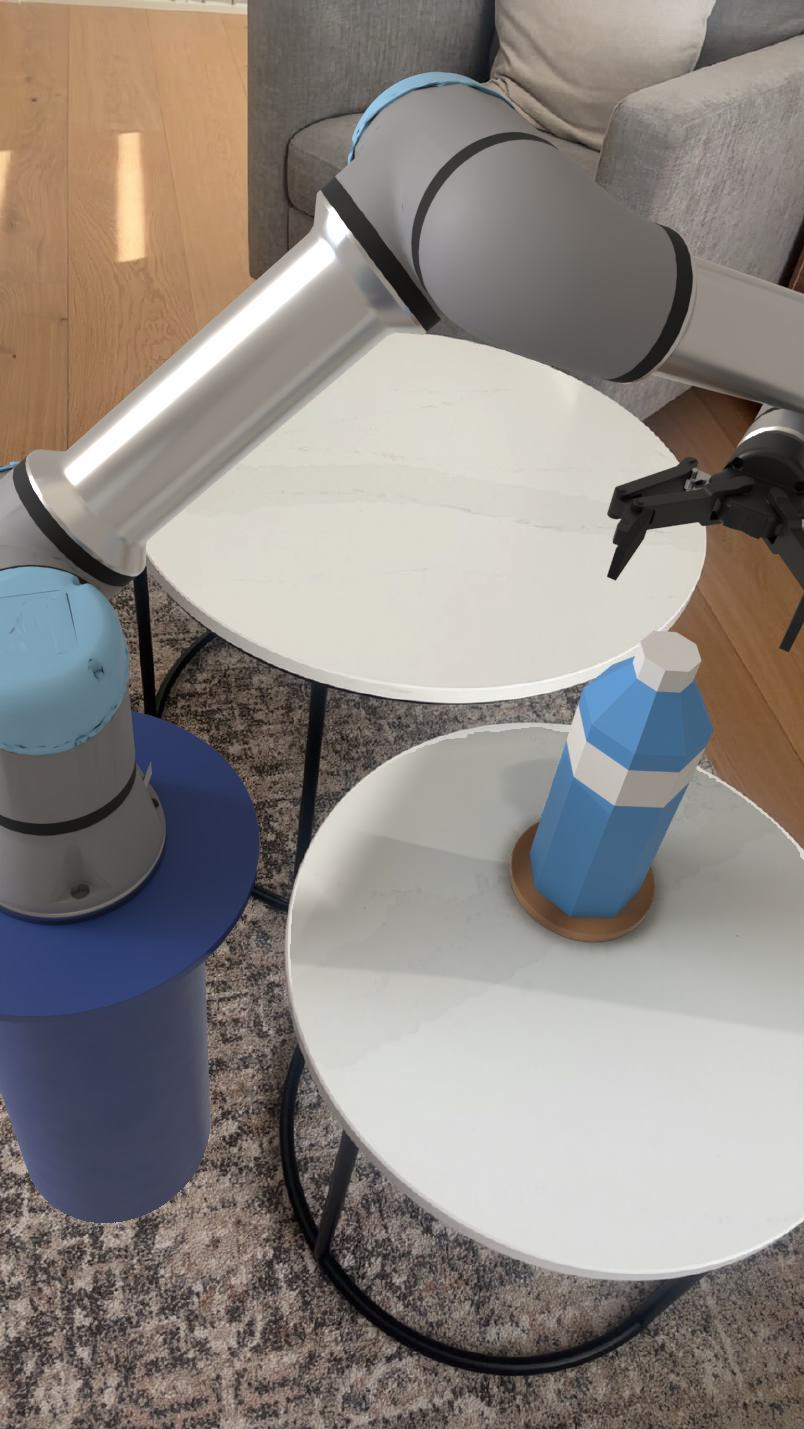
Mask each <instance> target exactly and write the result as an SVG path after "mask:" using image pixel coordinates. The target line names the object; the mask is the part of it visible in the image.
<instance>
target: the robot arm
mask: <svg viewBox="0 0 804 1429" xmlns="http://www.w3.org/2000/svg"><path fill="white" fill-rule="evenodd" d="M351 141H352V143H351V145H350V148H349V153H348V156H347V165H346V166H345V167H344V168H342V169H341V170H340V172H339V171H338V173H337V174H336V175H335V176H334V177H333V178H332V179H331V180H330V181H328V182H327V183H326V184H325V185H324V186H323V187H321V189H320V190H319V191H318V192H316V197H315V206H314V207H315V208H314V209H315V210H314V219H313V226H312V227H311V229H310V231H309V232H308V233H307V234H306V235H305V236H304V237H303V238H302V239H300V240H299V241H298V242H297V243H296V244H295V245H294V246H292V248H290V249H289V250H288V251H287V252H286V253H284V255H283V256H282V257H281V258H279V260H277V261H276V262H275V263H274V264H273V265H272V266H270V267H269V268H268V269H267V270H266V271H264V273H263V274H262V275H261V276H259V277H258V278H257V279H256V280H255V281H253V283H251V284H250V285H249V286H248V287H247V288H246V289H245V290H244V291H243V292H242V293H240V294H239V295H238V296H237V297H236V298H235V299H234V300H233V301H231V302H230V303H229V304H228V305H227V306H226V307H224V308H223V309H222V311H220V312H219V313H218V314H217V315H215V317H213V319H211V320H210V321H209V322H208V323H207V324H206V325H204V327H203V328H201V329H200V330H199V331H198V332H197V333H195V335H194V336H192V338H190V339H189V340H188V341H187V342H186V343H184V344H183V346H181V347H180V348H179V349H178V350H177V351H176V352H174V353H173V354H172V356H170V357H169V358H168V359H167V360H166V361H165V362H163V363H162V364H161V365H160V366H159V367H158V368H157V369H155V370H154V372H152V374H150V375H149V376H148V377H147V378H145V380H144V381H142V382H141V383H140V384H139V385H138V386H137V387H136V388H134V389H133V390H132V391H131V392H130V393H129V394H128V395H127V396H126V397H124V398H123V399H122V400H121V401H120V402H119V403H118V404H117V405H116V406H114V407H113V408H112V409H111V410H110V411H109V412H107V414H105V415H104V416H103V417H102V418H101V419H100V420H99V421H98V422H97V423H95V424H94V425H93V426H92V427H91V428H90V429H88V431H86V432H85V433H84V434H83V435H82V436H81V437H80V438H79V439H78V440H76V441H75V442H74V443H73V444H72V445H71V446H70V447H69V448H68V449H67V450H65V451H64V450H63V451H61V450H52V449H44V448H43V449H41V448H39V449H34V450H33V451H31V452H29V454H28V455H26V456H25V457H24V458H23V459H22V460H20V461H10V462H9V464H5V465H0V912H2V913H4V914H6V915H8V916H10V917H13V918H15V919H18V920H22V921H25V922H30V923H35V924H44V925H63V924H72V923H78V922H83V921H87V920H91V919H94V918H97V917H100V916H102V915H105V914H107V913H109V912H111V911H114V910H116V909H117V908H119V907H121V906H123V905H124V904H126V903H127V902H128V901H130V900H131V899H133V898H134V897H135V896H136V895H137V894H139V893H140V892H141V891H142V890H143V889H144V888H145V887H146V885H147V884H148V883H149V882H150V881H151V879H152V878H153V876H154V875H155V873H156V872H157V870H158V868H159V866H160V864H161V861H162V859H163V856H164V852H165V847H166V824H165V816H164V812H163V809H162V806H161V803H160V801H159V798H158V796H157V794H156V792H155V791H154V789H153V788H152V786H151V785H150V784H149V780H150V778H151V775H152V769H151V762H150V765H149V768H148V770H147V773H146V776H145V775H144V774H143V772H142V771H141V769H140V768H139V766H138V765H137V763H136V758H135V746H134V736H133V726H132V716H131V711H132V708H131V696H130V686H129V678H130V669H129V668H130V652H129V645H128V642H127V639H126V635H125V632H124V629H123V627H122V625H121V621H120V619H119V616H118V614H117V612H116V611H115V610H116V609H115V608H114V607H113V605H112V604H111V603H110V600H111V599H112V598H113V597H114V596H115V595H117V594H118V593H119V592H120V591H122V590H123V589H124V588H125V587H126V586H127V585H129V583H131V582H132V581H133V580H135V578H137V577H138V576H139V575H140V574H142V573H143V571H144V570H145V568H146V565H147V542H149V540H150V539H151V538H152V537H153V536H154V535H156V534H157V533H158V532H159V531H161V529H163V528H164V527H165V526H166V525H167V524H168V523H170V522H171V521H172V520H174V519H175V518H176V517H177V516H178V515H179V514H181V513H182V512H183V511H184V510H185V509H186V508H187V507H189V506H190V505H191V504H192V503H193V502H194V501H196V500H197V499H198V498H199V497H201V495H202V494H203V495H204V493H205V492H206V491H207V490H209V488H211V487H212V486H213V485H215V484H216V483H217V482H218V481H219V480H220V479H221V478H223V477H224V476H225V475H226V474H228V473H229V472H230V471H231V470H232V469H233V468H235V467H236V466H237V465H238V464H240V463H241V461H243V460H244V459H245V458H246V457H247V456H248V455H250V454H251V453H252V452H253V451H255V450H256V449H257V448H258V447H259V446H260V445H261V444H263V443H264V442H265V441H266V440H267V439H268V438H270V437H271V436H272V435H273V434H275V433H276V432H277V431H278V430H279V429H280V428H281V427H283V426H284V425H285V424H286V423H288V422H289V421H290V420H291V419H292V418H293V417H295V415H297V414H298V413H299V412H300V411H301V410H302V409H304V408H305V407H306V406H307V405H308V404H310V403H311V402H312V401H313V400H314V399H315V398H317V397H318V396H319V395H320V394H321V393H322V392H324V391H325V390H326V389H327V388H328V387H330V386H331V385H332V384H333V383H334V382H335V381H336V380H338V379H339V378H340V377H342V376H343V375H344V374H345V373H346V372H347V371H348V370H350V369H351V368H352V367H353V366H354V365H355V364H357V363H358V362H359V361H360V360H361V359H362V358H364V357H365V356H366V355H367V354H368V353H370V352H371V351H372V350H373V349H374V348H375V347H376V346H378V345H379V344H380V343H381V342H382V341H384V340H385V339H386V338H387V337H389V336H390V335H393V334H395V333H397V334H409V335H417V336H419V335H420V336H424V335H425V334H426V333H428V332H429V331H430V330H431V329H433V328H434V327H435V326H436V325H437V324H438V323H439V322H441V321H442V320H443V319H444V318H448V319H449V320H450V321H451V322H453V323H454V324H456V325H457V326H458V327H460V328H461V329H462V330H464V331H465V332H467V333H468V334H470V335H471V336H473V337H475V338H477V339H479V340H482V341H483V342H485V343H488V344H490V345H492V346H495V347H497V348H499V349H501V350H504V351H506V352H508V353H512V354H514V355H516V356H520V357H523V358H526V359H529V360H532V361H535V362H538V363H542V364H545V365H549V366H552V367H556V368H559V369H562V370H566V371H569V372H573V373H577V374H579V375H583V376H587V377H592V378H595V379H601V380H604V381H608V382H610V383H611V382H612V383H615V384H622V385H631V384H635V383H639V382H640V381H642V380H645V379H646V378H648V377H650V376H656V377H659V378H662V379H666V380H670V381H674V382H678V383H681V384H685V385H688V386H693V387H697V388H701V389H704V390H707V391H712V392H716V393H718V394H723V395H727V396H730V397H731V396H732V397H735V398H738V399H742V400H746V401H751V402H754V403H758V404H762V405H761V408H760V410H759V411H758V413H757V415H756V417H755V418H754V420H753V422H752V423H751V425H750V426H749V427H748V429H747V431H746V432H745V434H744V435H743V436H742V438H741V440H740V441H739V443H738V444H737V446H736V448H735V450H734V451H733V452H732V454H731V456H730V457H729V459H728V460H727V462H726V463H725V465H724V466H723V468H722V470H721V471H719V472H715V473H714V474H709V473H707V472H704V471H702V470H700V469H698V468H697V467H698V465H699V460H698V459H697V458H695V457H693V456H686V457H684V458H683V459H682V460H680V462H679V463H678V464H677V465H675V466H672V467H669V468H666V469H664V470H661V471H658V472H655V473H652V474H648V475H646V476H643V477H641V478H637V479H634V480H632V481H628V482H626V483H623V484H620V485H617V486H615V488H614V490H613V492H612V496H611V499H610V503H609V506H608V509H607V513H606V515H607V517H608V518H610V519H612V520H619V521H618V523H617V525H616V528H615V530H614V533H613V537H612V544H613V545H615V546H616V547H615V549H614V552H613V556H612V559H611V562H610V566H609V568H608V572H607V573H606V574H607V575H606V578H608V579H611V580H613V581H615V582H616V581H617V580H618V578H619V577H620V575H621V574H622V572H623V571H624V569H625V568H626V566H627V565H628V564H629V562H630V560H632V558H633V556H634V554H635V553H636V551H637V550H638V548H639V547H640V545H641V544H642V543H643V541H644V539H645V537H646V534H647V532H648V531H650V530H656V529H662V528H669V527H676V526H684V525H689V524H697V523H698V525H700V526H702V527H707V526H714V525H721V524H722V526H724V527H726V528H727V529H731V530H736V531H739V532H742V533H744V534H745V535H748V536H749V537H751V538H754V539H756V540H760V538H761V539H762V540H763V541H762V542H764V544H765V545H766V546H767V548H768V549H769V551H770V553H772V555H778V556H779V557H780V558H781V561H783V563H784V564H785V566H786V567H787V569H788V570H789V571H790V573H791V574H792V576H793V577H794V578H795V580H796V581H797V583H798V585H799V586H800V587H801V588H802V590H803V591H804V293H803V292H800V291H797V290H794V289H791V288H788V287H785V286H782V285H779V284H776V283H774V282H771V281H768V280H766V279H762V278H759V277H758V276H757V277H756V276H754V275H751V274H748V273H745V272H743V271H739V270H737V269H734V268H731V267H729V266H725V265H722V264H719V263H717V262H713V261H711V260H708V259H705V258H702V257H699V256H696V255H694V254H693V250H692V247H691V245H690V244H689V242H688V240H687V239H686V238H685V237H684V236H683V235H682V233H680V232H679V231H677V230H675V229H674V228H671V227H669V226H666V225H663V224H660V223H658V222H655V221H654V220H653V221H652V220H650V219H649V218H646V217H644V216H643V215H641V214H639V213H638V212H636V211H634V210H633V209H631V208H630V207H628V206H627V205H625V204H624V203H623V202H621V201H620V200H618V199H617V198H615V197H614V196H613V195H612V194H611V193H609V191H607V190H606V189H605V188H604V187H603V186H601V185H600V184H599V183H598V182H597V181H595V180H594V179H593V178H592V177H591V176H589V175H588V173H586V172H585V171H584V170H583V169H582V168H581V167H580V166H579V165H578V164H577V163H575V162H574V160H572V158H570V157H569V156H568V155H566V154H565V153H564V152H563V151H561V150H560V149H559V148H558V147H557V146H556V145H554V144H553V143H552V142H551V141H550V140H549V139H547V137H546V136H545V135H544V134H542V132H541V131H540V130H538V128H536V127H535V125H533V124H532V123H531V122H530V121H529V120H528V119H527V118H526V117H525V116H524V115H523V114H522V113H520V111H518V110H517V109H516V107H515V105H514V104H513V103H512V102H511V101H510V100H508V99H507V98H505V97H504V96H503V95H502V94H501V93H500V92H498V91H496V90H494V89H493V88H490V87H488V86H486V85H484V84H482V83H480V82H478V81H476V80H474V79H472V78H470V77H468V76H465V75H463V74H460V73H459V74H458V73H453V72H443V71H430V72H424V73H419V74H415V75H412V76H409V77H407V78H404V79H402V80H400V81H398V82H396V83H394V84H393V85H392V86H391V85H390V87H388V88H387V89H385V91H383V92H382V93H380V94H379V95H378V96H377V97H376V98H375V99H374V100H373V101H372V102H371V104H370V105H369V106H368V107H367V109H366V110H365V111H364V113H363V114H362V115H361V118H360V119H359V121H358V123H357V125H356V126H355V129H354V131H353V134H352V137H351ZM803 625H804V593H803V594H802V596H801V598H800V600H799V602H798V605H797V607H796V609H795V611H794V614H793V616H792V618H791V620H790V622H789V624H788V626H787V628H786V629H787V630H786V631H785V634H784V635H783V638H782V640H781V642H780V645H779V646H778V649H779V650H782V651H785V652H786V653H790V651H791V649H792V647H793V645H794V643H795V641H796V639H797V637H798V635H799V633H800V631H801V629H802V628H803Z"/></svg>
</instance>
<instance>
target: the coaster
mask: <svg viewBox="0 0 804 1429" xmlns="http://www.w3.org/2000/svg"><path fill="white" fill-rule="evenodd" d="M539 823H540V821H538V822H536V823H533V825H531V826H530V827H528V828H527V829H526V830H525V831H523V833H522V834H521V835H520V836H519V838H518V839H517V841H516V842H515V845H514V847H513V850H512V852H511V856H510V860H509V865H508V876H509V882H510V885H511V888H512V891H513V893H514V895H515V897H516V899H517V901H518V902H519V904H520V905H521V907H522V908H523V910H524V911H525V912H526V913H527V914H528V915H529V916H530V917H531V918H532V919H534V920H535V922H537V923H538V924H539V925H541V926H543V927H544V928H546V929H548V930H549V931H551V932H553V933H555V934H557V935H559V936H562V937H565V938H567V939H571V940H575V941H581V942H588V943H589V942H590V943H591V942H592V943H593V942H594V943H597V942H598V943H599V942H607V941H611V940H612V941H613V940H617V939H619V938H620V937H624V936H626V935H628V934H629V933H631V932H633V931H634V930H635V929H636V928H637V927H639V925H640V924H641V923H643V921H644V919H645V918H646V916H647V915H648V913H649V911H650V909H651V907H652V904H653V901H654V897H655V889H656V886H655V877H654V874H653V870H652V867H651V866H650V868H649V871H648V873H647V875H646V877H645V879H644V881H643V883H642V886H641V888H640V890H639V892H638V893H637V894H636V895H635V896H634V897H633V898H632V899H631V900H630V902H629V903H628V904H627V905H626V906H625V907H624V908H623V909H622V910H621V911H620V912H619V913H618V914H617V915H616V916H615V917H614V918H600V917H570V916H569V915H567V914H566V913H565V912H563V911H562V910H561V909H560V908H558V907H557V906H556V905H554V904H553V903H552V902H551V901H549V900H548V899H547V898H545V897H544V896H543V895H542V894H540V893H539V892H538V891H537V890H535V887H534V880H533V873H532V867H531V860H530V850H531V847H532V844H533V841H534V838H535V835H536V832H537V829H538V826H539Z"/></svg>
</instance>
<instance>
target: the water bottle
mask: <svg viewBox="0 0 804 1429" xmlns="http://www.w3.org/2000/svg"><path fill="white" fill-rule="evenodd" d="M701 663H702V657H701V655H700V651H699V649H698V645H697V643H695V642H693V641H691V640H690V639H688V638H687V637H685V636H684V635H682V634H680V633H679V632H677V631H664V630H663V631H662V630H652V631H651V632H650V633H648V635H646V636H644V638H642V639H641V640H640V641H639V644H638V647H637V649H636V652H635V655H633V656H631V657H627V658H626V659H623V660H620V661H618V662H616V663H612V664H611V665H610V666H608V667H607V668H606V669H605V670H603V671H602V672H601V673H600V674H598V675H597V676H596V677H595V678H594V679H592V680H591V681H590V682H588V683H587V684H586V685H585V686H584V687H583V688H582V691H581V694H580V697H579V700H578V704H577V706H576V710H575V712H574V716H573V719H572V721H571V726H570V727H569V731H568V735H567V737H566V740H565V743H564V746H563V750H562V753H561V756H560V758H559V762H558V764H557V768H556V771H555V774H554V777H553V780H552V783H551V785H550V789H549V792H548V796H547V799H546V802H545V805H544V807H543V810H542V814H541V817H540V820H539V822H540V823H539V826H538V829H537V832H536V835H535V838H534V841H533V844H532V847H531V850H530V860H531V867H532V873H533V880H534V887H535V890H537V891H538V892H539V893H540V894H542V895H543V896H544V897H545V898H547V899H548V900H549V901H551V902H552V903H553V904H554V905H556V906H557V907H558V908H560V909H561V910H562V911H563V912H565V913H566V914H567V915H569V916H570V917H600V918H614V917H615V916H616V915H617V914H618V913H619V912H620V911H621V910H622V909H623V908H624V907H625V906H626V905H627V904H628V903H629V902H630V900H631V899H632V898H633V897H634V896H635V895H636V894H637V893H638V892H639V890H640V888H641V886H642V883H643V881H644V879H645V877H646V875H647V873H648V871H649V868H650V867H651V866H652V863H653V862H654V860H655V858H656V856H657V853H658V851H659V849H660V847H661V845H662V843H663V840H664V838H665V836H666V834H667V833H668V832H667V831H668V830H669V828H670V825H671V824H672V822H673V819H674V817H675V815H676V813H677V810H678V808H679V806H680V804H681V801H682V800H683V798H684V795H685V793H686V791H687V790H688V787H689V785H690V783H691V780H692V779H693V776H694V774H695V772H696V769H697V768H698V765H699V763H700V761H701V759H702V757H703V755H704V752H705V750H706V749H707V745H708V744H709V742H710V739H711V738H712V735H713V733H714V731H715V730H714V726H713V724H712V721H711V718H710V715H709V712H708V708H707V706H706V703H705V699H704V695H703V693H702V692H701V691H702V690H701V689H700V687H699V685H698V684H697V683H698V682H697V681H696V679H695V678H696V675H697V673H698V670H699V668H700V666H701Z"/></svg>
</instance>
